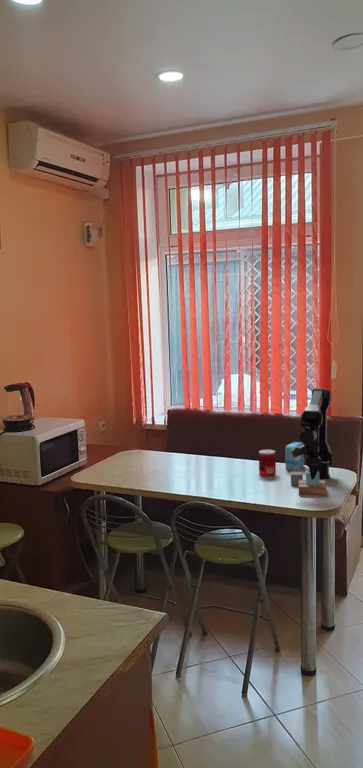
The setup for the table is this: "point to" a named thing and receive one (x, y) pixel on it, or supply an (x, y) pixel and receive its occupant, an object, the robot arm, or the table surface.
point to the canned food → (267, 462)
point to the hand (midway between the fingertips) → (312, 476)
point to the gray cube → (296, 478)
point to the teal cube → (312, 481)
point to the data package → (290, 460)
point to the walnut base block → (312, 488)
